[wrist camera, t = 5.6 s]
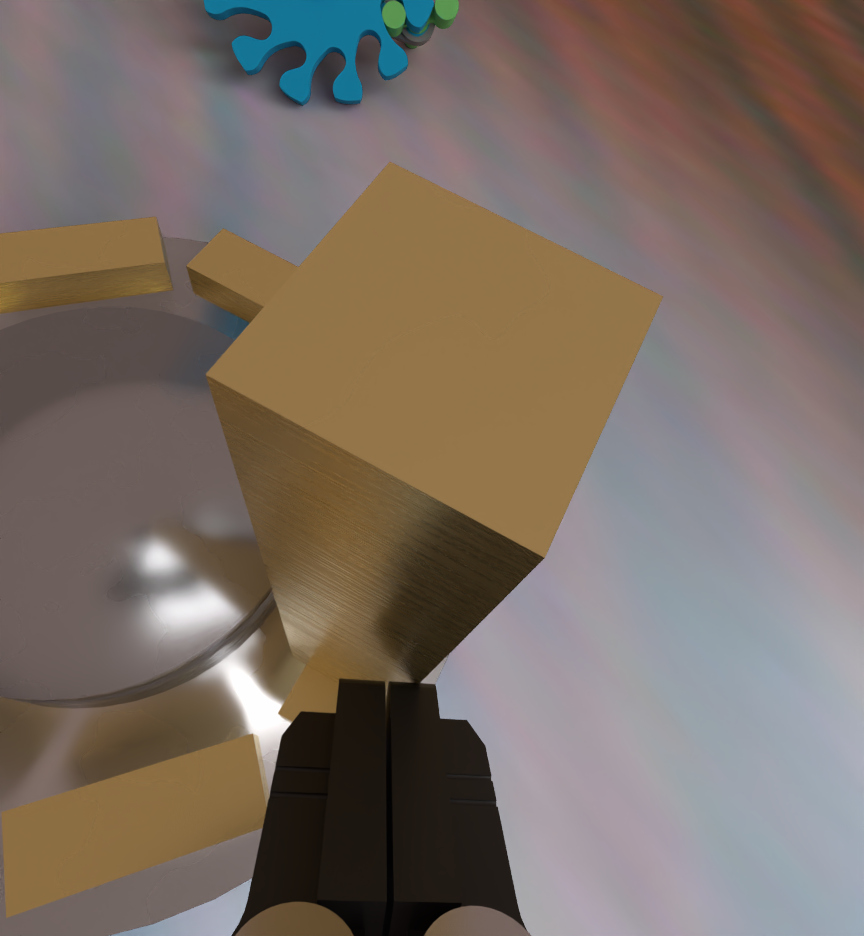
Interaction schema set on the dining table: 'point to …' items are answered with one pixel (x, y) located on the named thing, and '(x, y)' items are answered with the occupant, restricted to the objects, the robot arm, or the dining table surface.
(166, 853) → the peg on ring base
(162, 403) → the grey round piece
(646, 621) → the dining table surface
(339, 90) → the blue lobed toy
